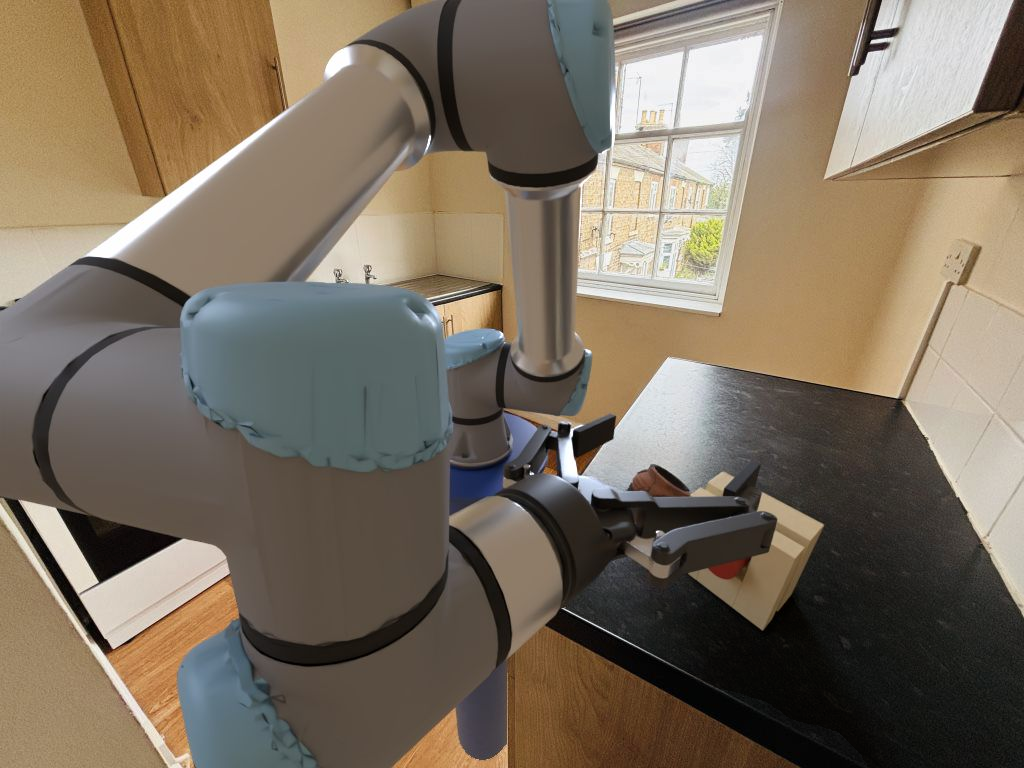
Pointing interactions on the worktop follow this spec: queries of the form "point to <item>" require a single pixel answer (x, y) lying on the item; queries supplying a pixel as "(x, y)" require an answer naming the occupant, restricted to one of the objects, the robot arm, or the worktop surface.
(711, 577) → the control block
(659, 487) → the pottery mug
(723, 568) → the button
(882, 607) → the worktop surface
